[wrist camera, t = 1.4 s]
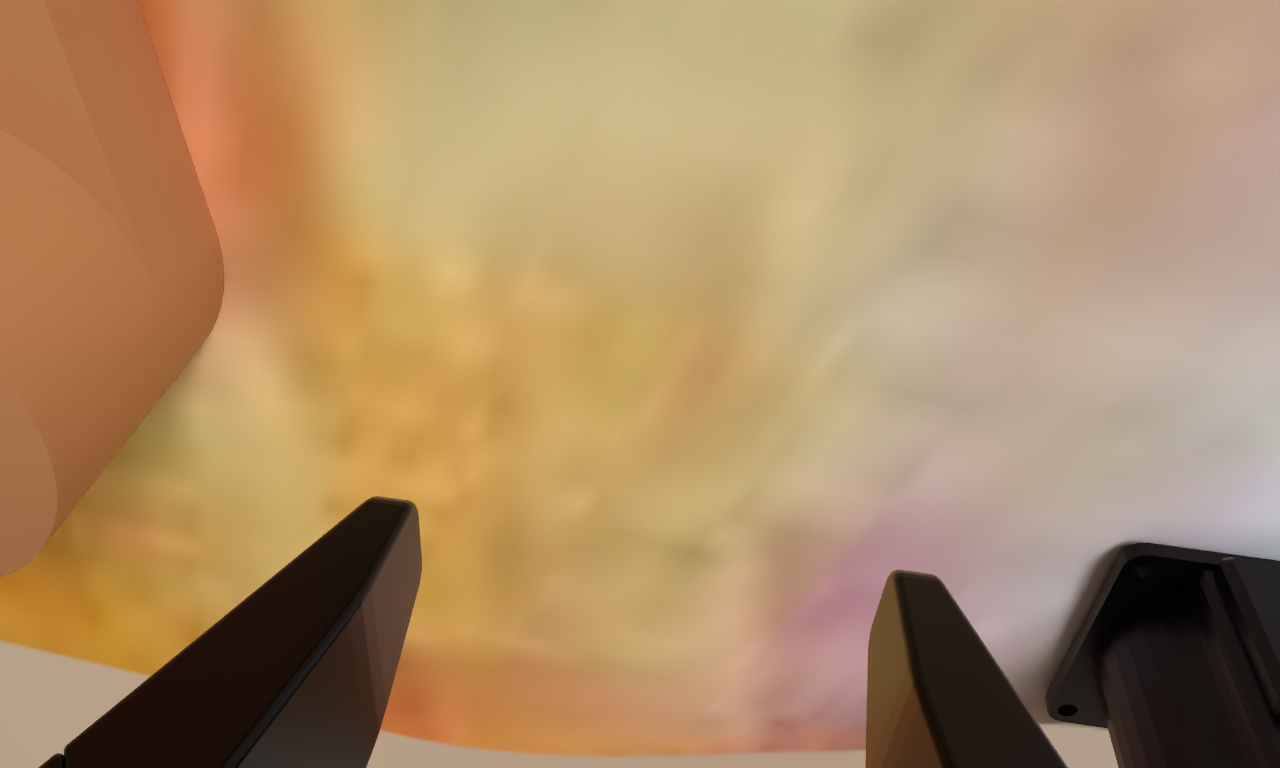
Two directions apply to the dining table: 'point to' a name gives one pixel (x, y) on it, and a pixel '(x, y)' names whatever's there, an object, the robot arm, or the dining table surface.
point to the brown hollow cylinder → (89, 253)
